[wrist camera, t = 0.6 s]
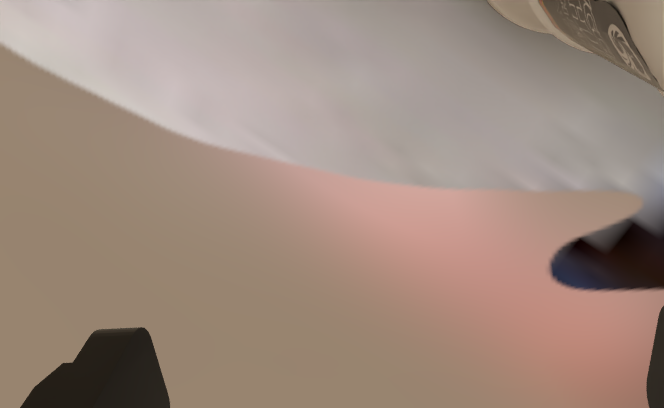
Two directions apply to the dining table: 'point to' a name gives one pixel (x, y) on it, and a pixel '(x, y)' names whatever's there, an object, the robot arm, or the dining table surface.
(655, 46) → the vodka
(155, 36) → the dining table surface
